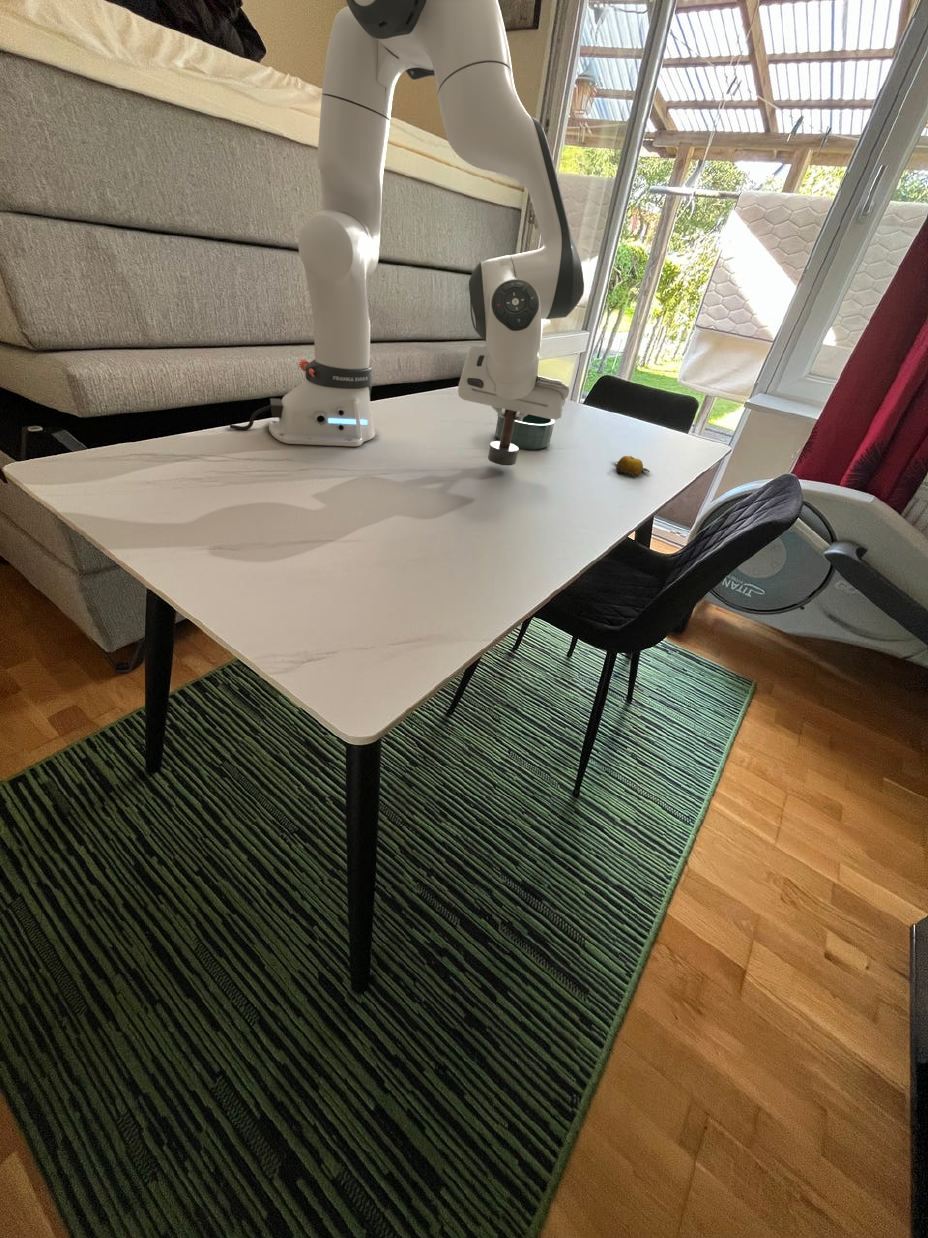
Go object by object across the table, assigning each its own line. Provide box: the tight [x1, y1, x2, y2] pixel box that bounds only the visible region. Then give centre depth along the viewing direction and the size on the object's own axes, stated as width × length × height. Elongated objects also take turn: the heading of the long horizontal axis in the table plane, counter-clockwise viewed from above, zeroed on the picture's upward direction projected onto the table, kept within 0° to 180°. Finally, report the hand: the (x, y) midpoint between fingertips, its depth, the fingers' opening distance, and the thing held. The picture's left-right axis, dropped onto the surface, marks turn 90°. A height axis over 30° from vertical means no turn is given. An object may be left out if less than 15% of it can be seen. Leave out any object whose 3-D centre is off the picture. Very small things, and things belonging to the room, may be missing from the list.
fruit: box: [614, 455, 651, 477], centre depth 119 cm, size 8×8×4 cm
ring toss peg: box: [487, 409, 520, 467], centre depth 104 cm, size 6×6×16 cm
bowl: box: [494, 414, 555, 451], centre depth 127 cm, size 14×14×6 cm
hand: (510, 416), depth 104 cm, fingers closed on ring toss peg, 2 cm apart
